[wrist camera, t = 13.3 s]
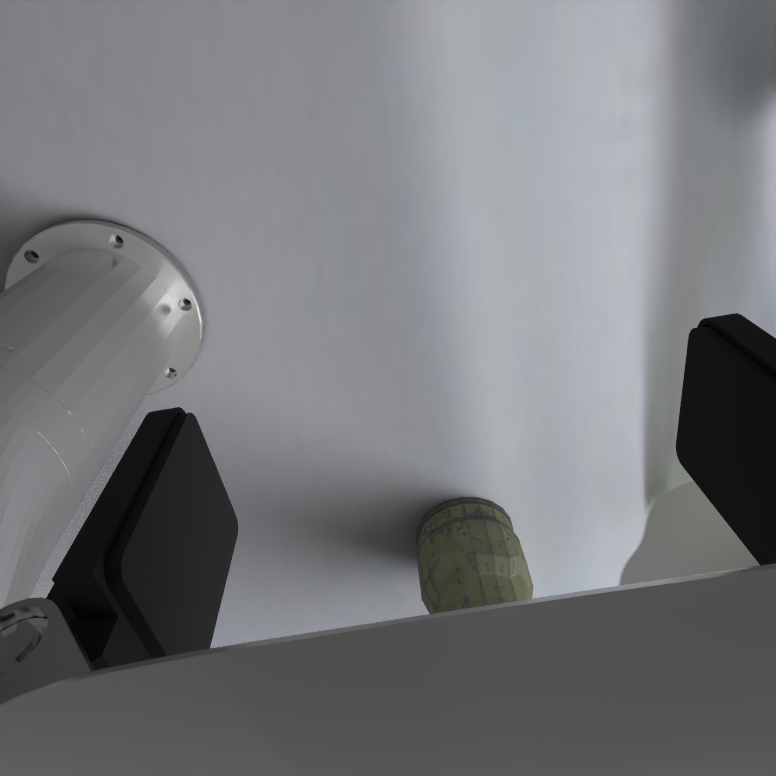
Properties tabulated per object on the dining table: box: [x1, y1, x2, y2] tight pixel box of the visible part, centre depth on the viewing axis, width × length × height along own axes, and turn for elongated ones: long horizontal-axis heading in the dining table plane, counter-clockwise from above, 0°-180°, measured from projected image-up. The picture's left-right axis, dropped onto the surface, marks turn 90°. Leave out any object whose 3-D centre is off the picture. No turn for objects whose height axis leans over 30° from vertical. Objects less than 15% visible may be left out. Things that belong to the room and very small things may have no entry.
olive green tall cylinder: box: [417, 498, 533, 614], centre depth 36 cm, size 9×12×35 cm
